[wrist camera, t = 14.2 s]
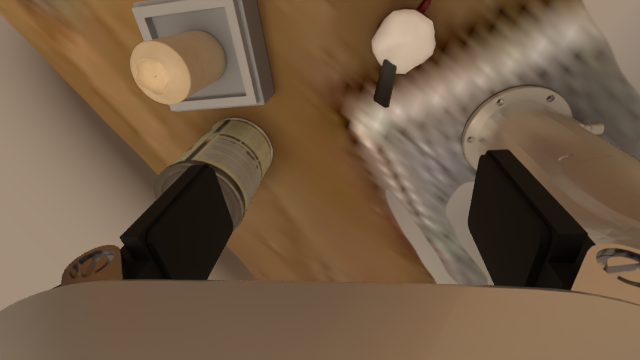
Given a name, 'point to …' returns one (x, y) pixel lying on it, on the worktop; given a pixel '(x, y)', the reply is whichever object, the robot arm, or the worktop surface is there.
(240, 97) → the pedestal
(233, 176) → the coffee can
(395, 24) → the cocoa
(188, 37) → the candle
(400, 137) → the worktop surface
